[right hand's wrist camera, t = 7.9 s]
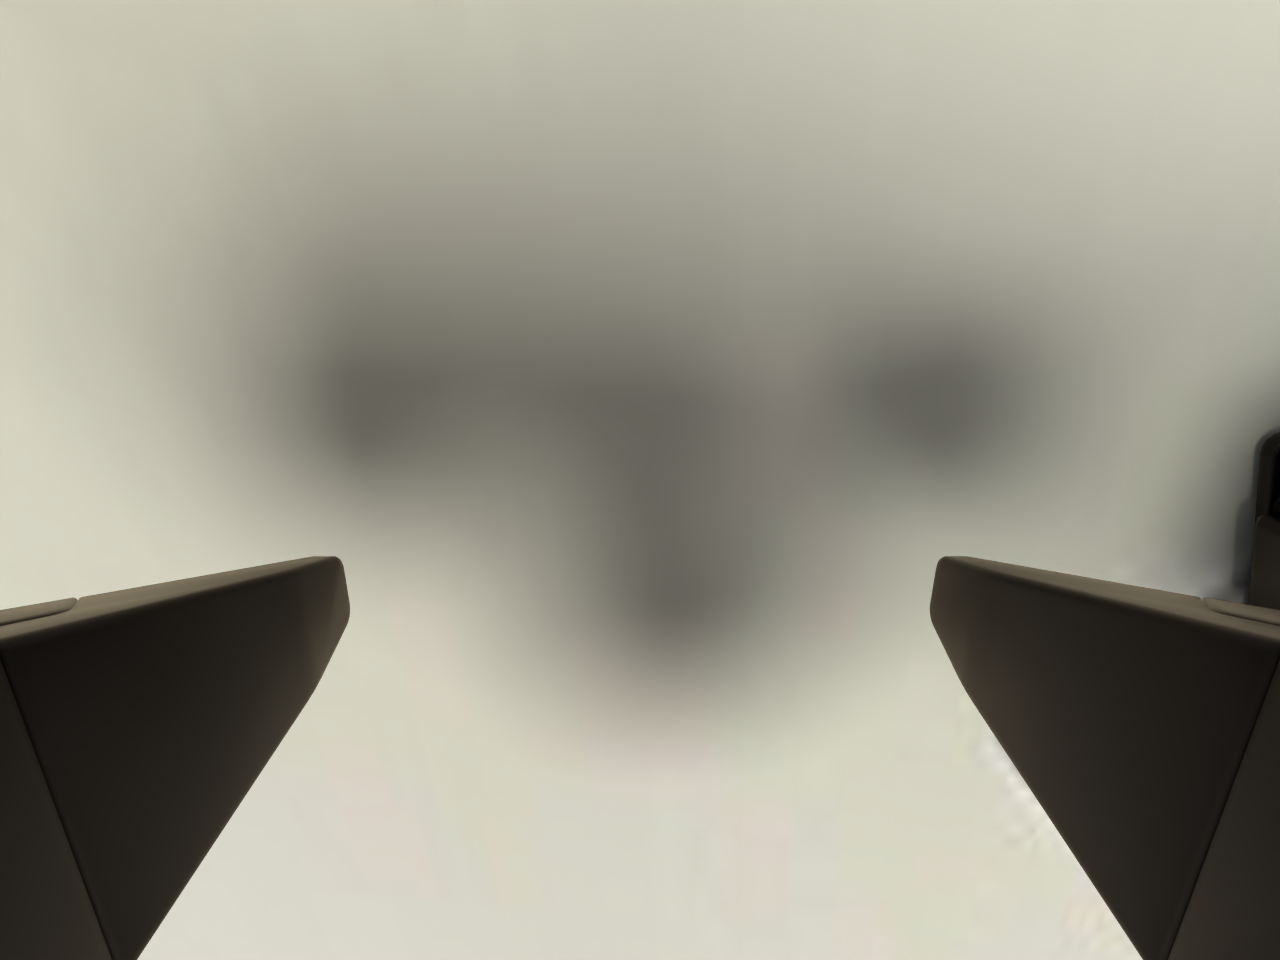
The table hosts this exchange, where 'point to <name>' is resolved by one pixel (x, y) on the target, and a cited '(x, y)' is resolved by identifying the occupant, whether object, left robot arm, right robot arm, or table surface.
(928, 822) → the table surface
